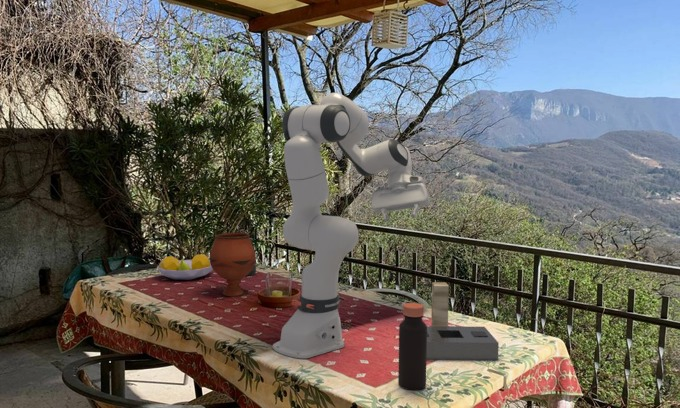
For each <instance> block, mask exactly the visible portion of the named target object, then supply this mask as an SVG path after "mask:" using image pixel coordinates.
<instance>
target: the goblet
mask: <svg viewBox="0 0 680 408" xmlns="http://www.w3.org/2000/svg"><path fill="white" fill-rule="evenodd" d="M214 237H215V238H214V241H213V244H212V246H211V250H210V253H209V261H210V264H211V267H212V268H213V271H214V272H215V273H216V274H217V276H219V277H220V278H223V279H224V280H226V284H227V286H226V287H225V288H224V289H223V292H222V295H224V296H225V297H227V296H228V297H236V296H237V297H238V296H241V295H243V294H244V289H243V288H242V287H241V286H240V283H242V279H244V278H246V277H245V276H246V275H248V274H249V272H250V271H251V270H252V269H253V267H254V265H255V262H256V263H257V256H256V252H255V248H254V246H253V244H252V241H251V239H250V238H251V235H250V234H249V233H245V232H226V233H219V234H217V235H215V236H214Z"/></svg>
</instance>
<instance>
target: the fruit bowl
mask: <svg viewBox="0 0 680 408" xmlns="http://www.w3.org/2000/svg"><path fill="white" fill-rule="evenodd" d="M156 269H157V270H158V271H159V273H160V274H161V275H162V276H164V277H167V278H168V279H172V280H179V281H180V280H181V281H182V280H184V281H191V280H195V279H197V278H201V277H203V276H206V275H208V274H210V272H213V271H214V270H213V268H212V267H211V264H210V258H208V256H207V255H206V254H204V253H203V254H201V253H200V254H195V255H194V256H193V258H192V259H180V260H179V259H178V258H176V257H175V256H173V255H169V256H165V257H164V258H162V259H161V260H160V263H159V265H157V266H156Z"/></svg>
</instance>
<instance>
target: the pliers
mask: <svg viewBox="0 0 680 408" xmlns="http://www.w3.org/2000/svg"><path fill="white" fill-rule="evenodd" d="M344 300H345V301H344ZM342 301H344V302H348V299H347V298H345V297H343V296H340V295H339V303H342Z"/></svg>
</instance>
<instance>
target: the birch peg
mask: <svg viewBox="0 0 680 408" xmlns="http://www.w3.org/2000/svg"><path fill="white" fill-rule="evenodd" d="M449 288H450V285H449V284H448V283H447V282H438V281H437V282H431V314H430V315H431V317H430V318H431V319H430V321H431V322H430V326H449V296H450V294H449V293H450V290H449Z"/></svg>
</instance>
